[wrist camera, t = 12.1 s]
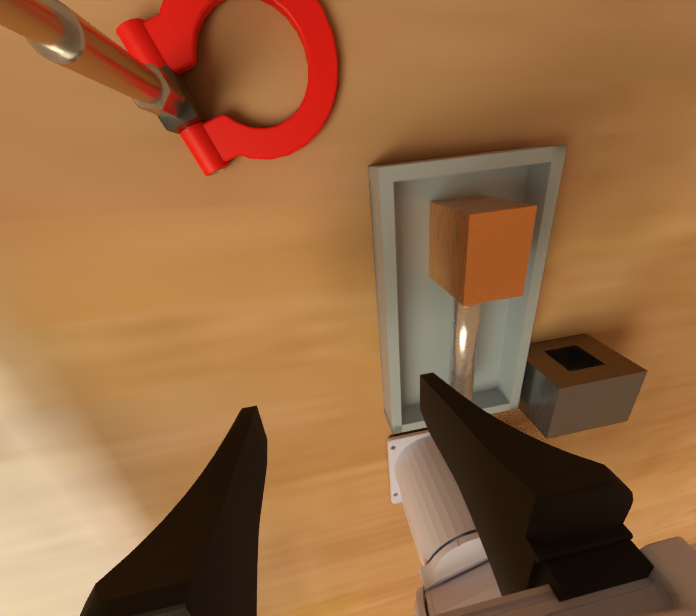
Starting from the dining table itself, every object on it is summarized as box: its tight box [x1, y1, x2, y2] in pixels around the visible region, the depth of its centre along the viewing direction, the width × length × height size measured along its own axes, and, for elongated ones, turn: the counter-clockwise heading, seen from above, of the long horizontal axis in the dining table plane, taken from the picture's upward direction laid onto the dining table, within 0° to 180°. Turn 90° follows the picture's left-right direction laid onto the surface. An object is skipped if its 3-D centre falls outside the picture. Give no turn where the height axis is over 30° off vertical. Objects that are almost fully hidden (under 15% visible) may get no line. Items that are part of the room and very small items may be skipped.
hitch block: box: [518, 334, 647, 438], centre depth 26 cm, size 5×7×5 cm
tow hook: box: [0, 0, 338, 176], centre depth 11 cm, size 8×13×9 cm
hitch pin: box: [429, 195, 537, 402], centre depth 21 cm, size 15×4×5 cm, turn 6°
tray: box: [368, 145, 567, 434], centre depth 23 cm, size 20×11×2 cm, turn 6°
